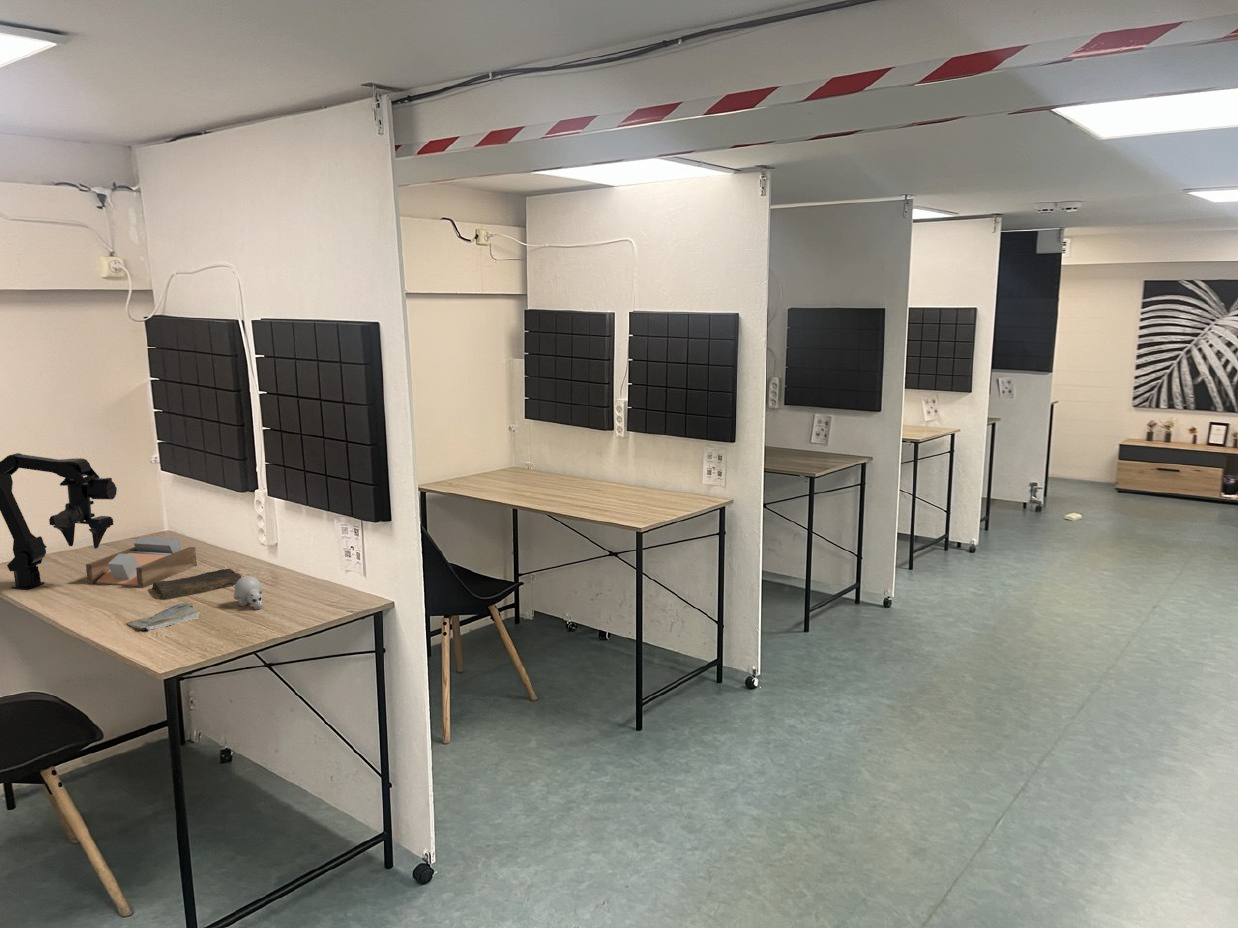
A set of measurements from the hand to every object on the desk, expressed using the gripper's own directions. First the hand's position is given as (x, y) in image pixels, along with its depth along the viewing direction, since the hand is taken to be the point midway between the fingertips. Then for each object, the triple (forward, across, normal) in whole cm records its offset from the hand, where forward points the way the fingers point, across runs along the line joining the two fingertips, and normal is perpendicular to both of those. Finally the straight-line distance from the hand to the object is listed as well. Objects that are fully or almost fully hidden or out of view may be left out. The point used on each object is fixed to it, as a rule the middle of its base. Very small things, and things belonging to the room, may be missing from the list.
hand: (83, 547), depth 272 cm
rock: (+13, +36, +6) cm, 39 cm away
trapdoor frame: (+12, +9, +14) cm, 21 cm away
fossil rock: (+12, +46, -22) cm, 52 cm away
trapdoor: (+10, +9, +14) cm, 20 cm away
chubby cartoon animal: (+12, +63, -7) cm, 65 cm away
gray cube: (+10, +9, +7) cm, 15 cm away
